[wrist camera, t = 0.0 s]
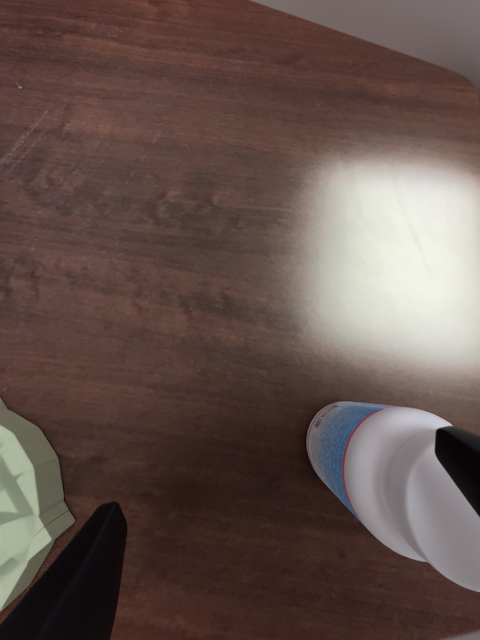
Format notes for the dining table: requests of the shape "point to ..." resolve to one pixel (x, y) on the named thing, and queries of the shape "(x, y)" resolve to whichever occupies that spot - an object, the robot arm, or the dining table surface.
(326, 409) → the pill bottle
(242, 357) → the dining table surface
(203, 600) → the dining table surface
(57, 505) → the socket pad
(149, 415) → the dining table surface
